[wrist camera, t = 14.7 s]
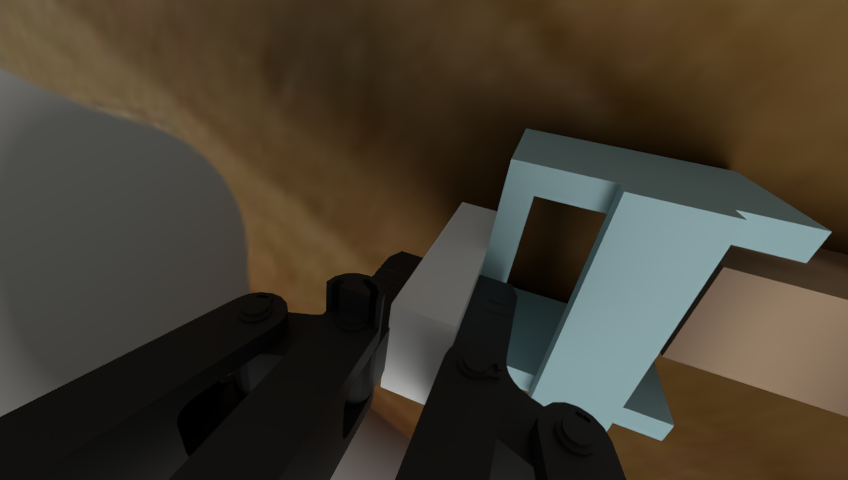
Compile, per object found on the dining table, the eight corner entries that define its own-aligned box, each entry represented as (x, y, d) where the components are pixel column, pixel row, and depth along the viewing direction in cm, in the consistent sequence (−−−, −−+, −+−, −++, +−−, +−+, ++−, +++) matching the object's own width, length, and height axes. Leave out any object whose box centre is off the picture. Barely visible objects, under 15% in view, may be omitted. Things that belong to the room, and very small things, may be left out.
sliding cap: (481, 292, 17) (452, 377, 12) (526, 128, 13) (508, 164, 8) (635, 340, 15) (666, 459, 11) (737, 171, 11) (851, 244, 7)
